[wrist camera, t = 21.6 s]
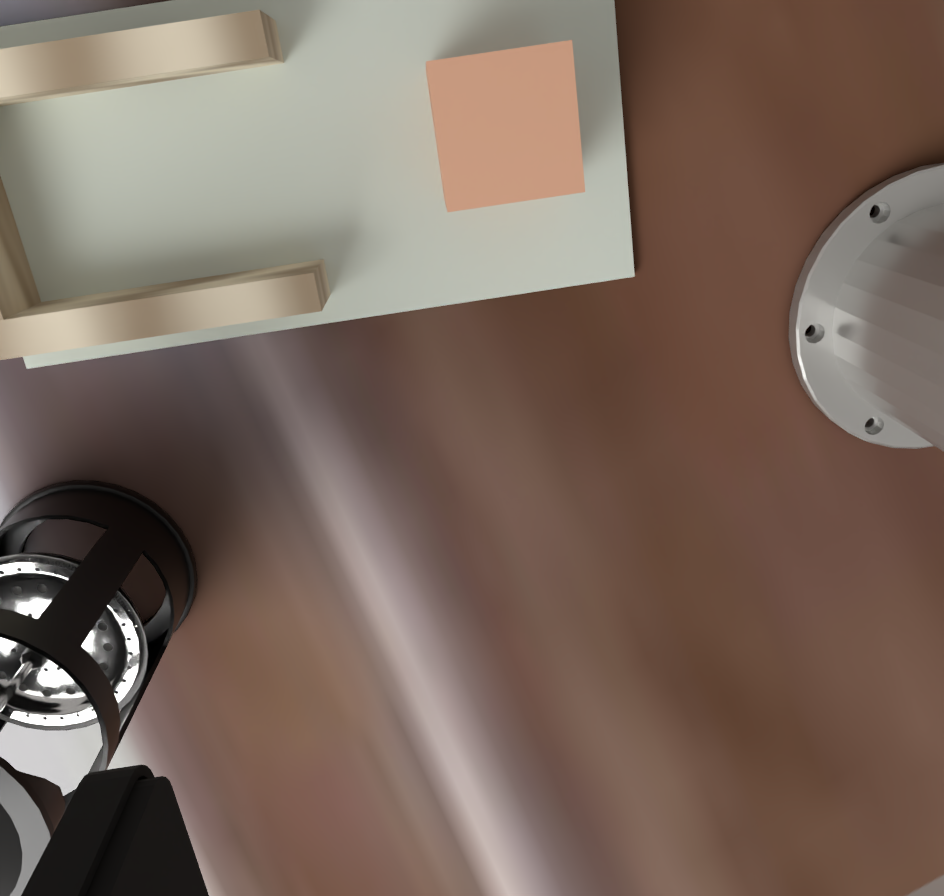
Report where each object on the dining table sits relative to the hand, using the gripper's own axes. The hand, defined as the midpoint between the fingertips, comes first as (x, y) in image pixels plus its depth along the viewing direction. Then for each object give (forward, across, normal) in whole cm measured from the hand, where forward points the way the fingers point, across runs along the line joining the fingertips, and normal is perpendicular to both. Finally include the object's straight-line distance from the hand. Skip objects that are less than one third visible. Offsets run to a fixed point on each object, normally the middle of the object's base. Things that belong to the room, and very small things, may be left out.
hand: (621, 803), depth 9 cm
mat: (+30, +6, -6) cm, 32 cm away
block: (+30, -2, -6) cm, 31 cm away
